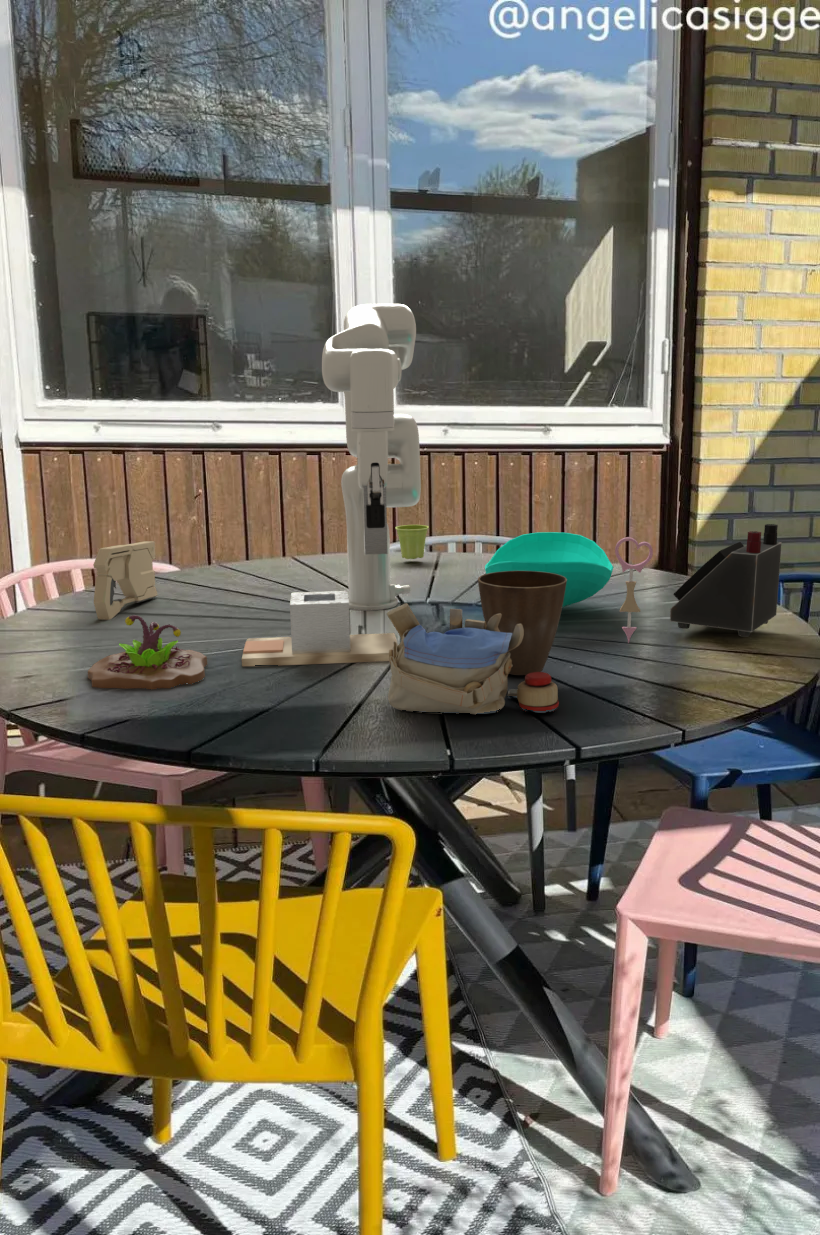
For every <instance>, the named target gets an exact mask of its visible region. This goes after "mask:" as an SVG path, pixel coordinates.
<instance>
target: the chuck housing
mask: <svg viewBox="0 0 820 1235" xmlns="http://www.w3.org/2000/svg"><path fill="white" fill-rule="evenodd" d="M348 597H349V591H348V590H330V591H328V590H327V591H304V592H303V591H301V592H300V591H299V592H298V591H297V592H296V591H295V592H291V594H290V602H289V613H290V634H291V636H290V637H291V640H292V654H306V653H331V652H350V635H351V631H350V629H351V628H350V609H349V600H348Z"/></svg>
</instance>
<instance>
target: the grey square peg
mask: <svg viewBox="0 0 820 1235" xmlns="http://www.w3.org/2000/svg"><path fill="white" fill-rule="evenodd" d="M371 474H372V473H371ZM383 483H384V479H383ZM383 487H384V485H383ZM369 488H372V484H369ZM371 492H372V491H370V493H371ZM366 505H368V498H367V486H363V522H364V552H365V555H367V554H388V552H387V524H388V515H387V513H388V511H387V510H388V509H387V508H388V507H387V505H386V487H385V488H383V505H384V506H385V527H384V528H367V516H366Z"/></svg>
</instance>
